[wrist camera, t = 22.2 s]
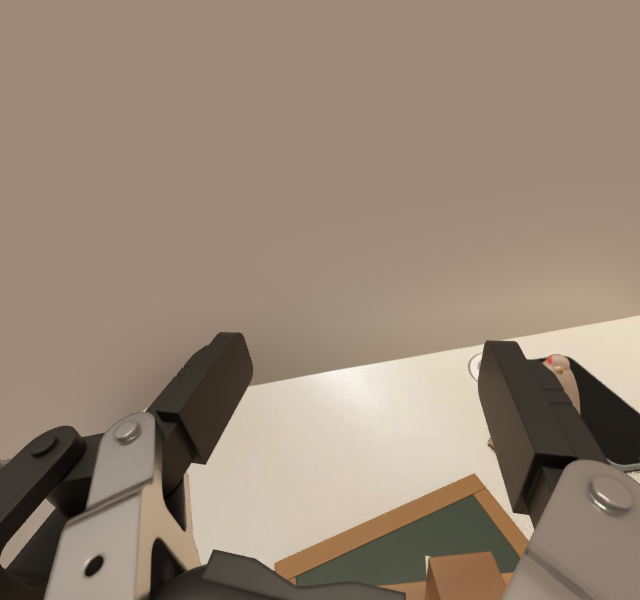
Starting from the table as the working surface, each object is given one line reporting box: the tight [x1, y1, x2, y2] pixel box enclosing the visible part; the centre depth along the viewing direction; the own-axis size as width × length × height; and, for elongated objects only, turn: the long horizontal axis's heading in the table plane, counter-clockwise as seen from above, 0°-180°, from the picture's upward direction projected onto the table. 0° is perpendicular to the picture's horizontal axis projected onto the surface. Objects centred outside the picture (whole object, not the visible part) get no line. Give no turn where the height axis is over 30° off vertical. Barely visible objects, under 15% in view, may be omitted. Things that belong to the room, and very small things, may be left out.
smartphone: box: [532, 356, 640, 471], centre depth 35 cm, size 7×1×15 cm
